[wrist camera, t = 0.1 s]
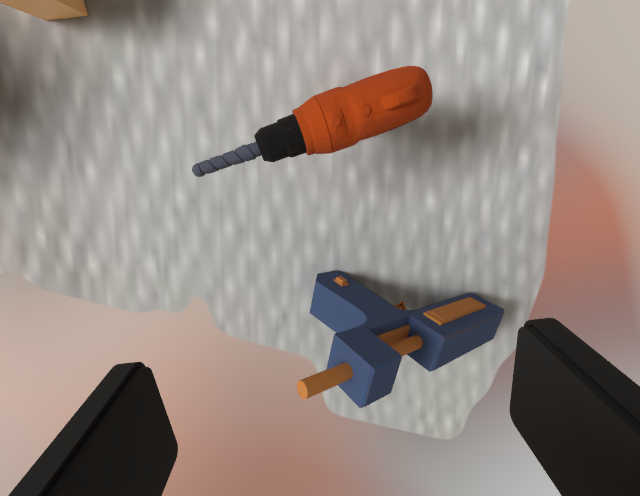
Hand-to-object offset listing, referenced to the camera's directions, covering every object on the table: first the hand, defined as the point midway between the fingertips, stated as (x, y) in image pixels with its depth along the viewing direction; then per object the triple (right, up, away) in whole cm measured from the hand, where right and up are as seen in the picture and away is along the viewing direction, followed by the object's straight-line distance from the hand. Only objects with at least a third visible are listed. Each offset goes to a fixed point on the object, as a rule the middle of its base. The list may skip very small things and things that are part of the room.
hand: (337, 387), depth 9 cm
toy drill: (-1, +17, +27) cm, 32 cm away
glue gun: (+10, -2, +35) cm, 36 cm away
